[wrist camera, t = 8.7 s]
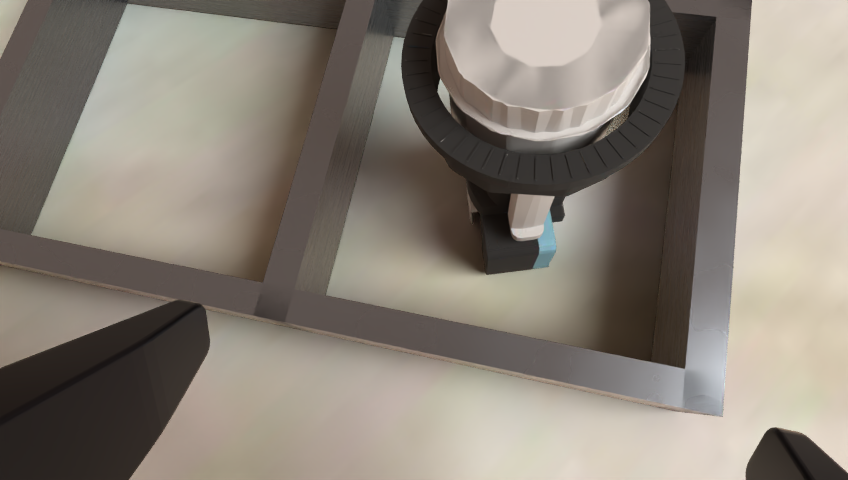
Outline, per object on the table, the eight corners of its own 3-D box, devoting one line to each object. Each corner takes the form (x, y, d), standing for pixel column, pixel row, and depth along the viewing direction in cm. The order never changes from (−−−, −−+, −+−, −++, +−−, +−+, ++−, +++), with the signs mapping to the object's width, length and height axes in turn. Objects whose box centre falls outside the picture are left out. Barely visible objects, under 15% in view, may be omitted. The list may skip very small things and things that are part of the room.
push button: (424, 118, 20) (375, -129, 10) (566, 98, 20) (650, -177, 10) (445, 291, 18) (408, 182, 9) (602, 272, 18) (745, 136, 8)
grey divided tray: (679, 411, 16) (729, 417, 13) (-6, 263, 20) (-100, 239, 17) (712, 47, 20) (759, -21, 16) (116, -23, 23) (57, -89, 20)
